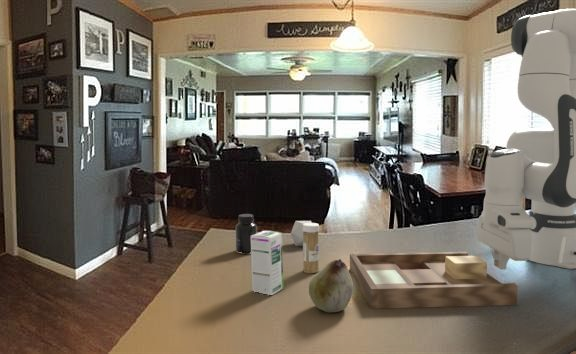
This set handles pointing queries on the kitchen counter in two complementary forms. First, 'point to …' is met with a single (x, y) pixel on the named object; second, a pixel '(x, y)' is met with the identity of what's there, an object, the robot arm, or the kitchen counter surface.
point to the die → (298, 232)
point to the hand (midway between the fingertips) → (499, 267)
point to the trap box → (423, 282)
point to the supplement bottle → (245, 233)
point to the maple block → (465, 267)
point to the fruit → (331, 287)
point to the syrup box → (267, 262)
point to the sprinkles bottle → (310, 248)
